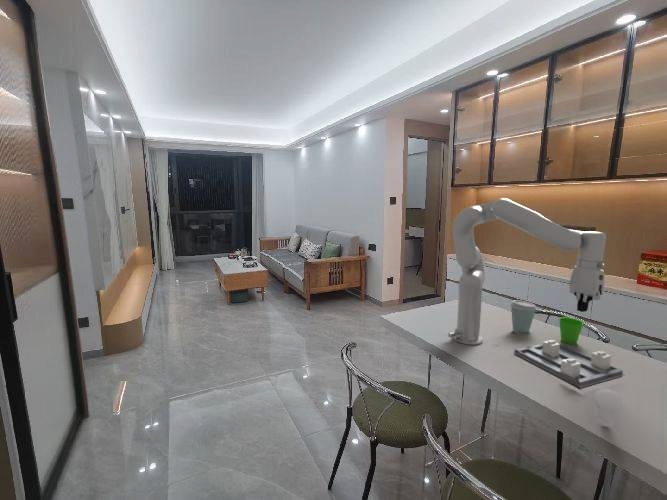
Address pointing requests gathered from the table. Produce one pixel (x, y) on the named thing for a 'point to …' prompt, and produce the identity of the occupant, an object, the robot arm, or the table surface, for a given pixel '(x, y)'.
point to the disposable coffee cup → (522, 316)
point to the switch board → (554, 363)
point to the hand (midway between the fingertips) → (581, 310)
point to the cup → (570, 329)
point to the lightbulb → (607, 405)
